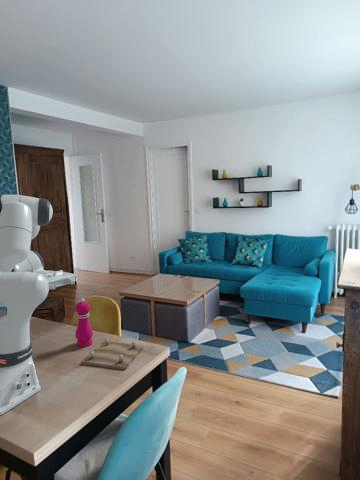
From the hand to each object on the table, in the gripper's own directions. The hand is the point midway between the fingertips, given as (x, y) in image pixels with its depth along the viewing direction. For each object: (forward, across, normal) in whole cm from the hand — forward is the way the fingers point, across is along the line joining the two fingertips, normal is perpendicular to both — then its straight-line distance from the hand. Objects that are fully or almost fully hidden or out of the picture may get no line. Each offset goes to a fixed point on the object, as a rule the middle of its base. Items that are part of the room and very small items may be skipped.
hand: (64, 284), depth 150 cm
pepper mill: (+12, 0, +24) cm, 27 cm away
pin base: (+30, -1, +24) cm, 39 cm away
